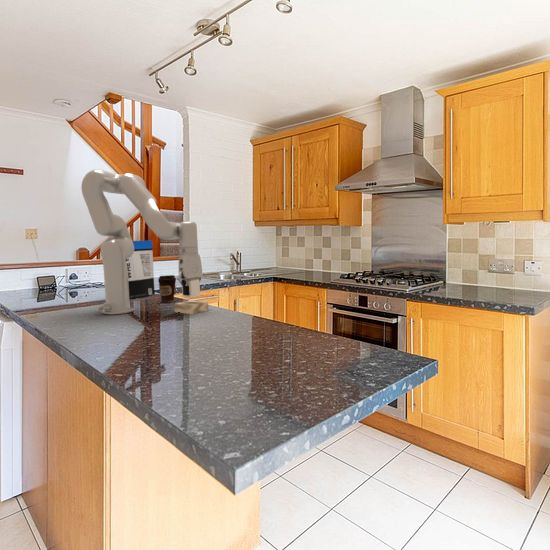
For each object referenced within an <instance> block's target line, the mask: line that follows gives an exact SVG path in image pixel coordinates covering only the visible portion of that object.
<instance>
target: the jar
mask: <svg viewBox="0 0 550 550" xmlns="http://www.w3.org/2000/svg"><path fill="white" fill-rule="evenodd" d="M199 279H200V278H199V277H198V278H192V279H188V281H189V282H188V286H189V293H190V295H183V286H182V285H181V290H182V291H181V292H182V293H181V294H182V297H183V298H195V297H200V296H201V287H200V286H201V281H200V282H199ZM185 282H186V280H185Z"/></svg>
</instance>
